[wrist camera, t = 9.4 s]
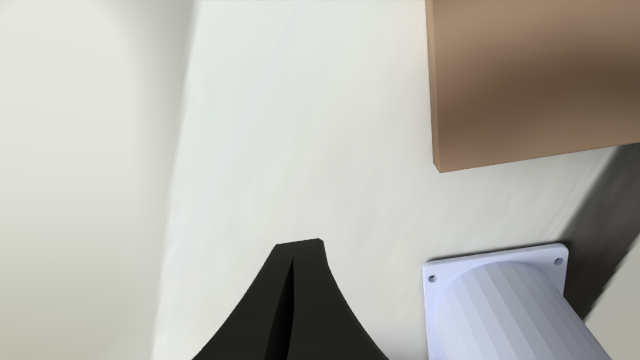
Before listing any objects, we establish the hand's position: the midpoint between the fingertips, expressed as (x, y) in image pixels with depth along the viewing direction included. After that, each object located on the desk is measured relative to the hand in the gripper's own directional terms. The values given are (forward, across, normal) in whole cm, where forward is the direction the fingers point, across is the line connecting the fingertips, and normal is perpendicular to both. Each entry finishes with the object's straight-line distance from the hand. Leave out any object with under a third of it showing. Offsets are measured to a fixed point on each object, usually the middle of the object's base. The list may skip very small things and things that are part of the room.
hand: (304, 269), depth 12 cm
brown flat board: (+9, -13, -7) cm, 18 cm away
